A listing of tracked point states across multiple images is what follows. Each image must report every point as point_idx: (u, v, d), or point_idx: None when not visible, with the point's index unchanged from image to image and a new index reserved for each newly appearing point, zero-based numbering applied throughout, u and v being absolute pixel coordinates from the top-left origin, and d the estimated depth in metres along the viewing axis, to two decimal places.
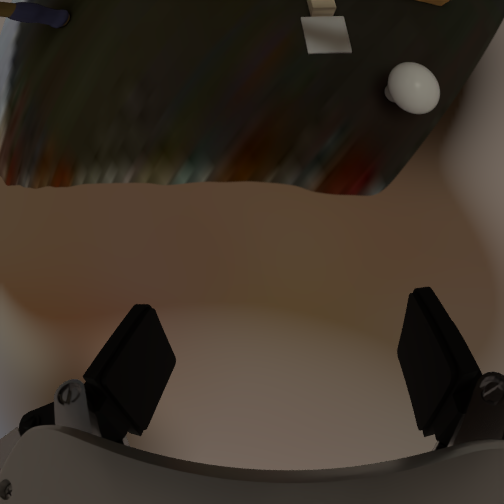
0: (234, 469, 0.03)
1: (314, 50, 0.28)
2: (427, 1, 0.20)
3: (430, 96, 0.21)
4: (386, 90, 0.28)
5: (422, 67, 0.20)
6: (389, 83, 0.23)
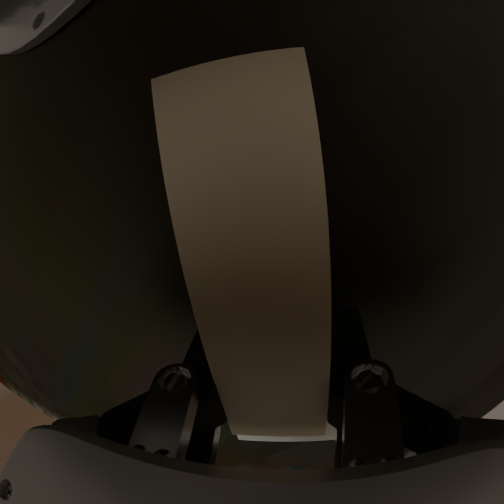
0: (234, 469, 0.03)
1: (252, 437, 0.13)
2: None
3: None
4: None
5: None
6: None
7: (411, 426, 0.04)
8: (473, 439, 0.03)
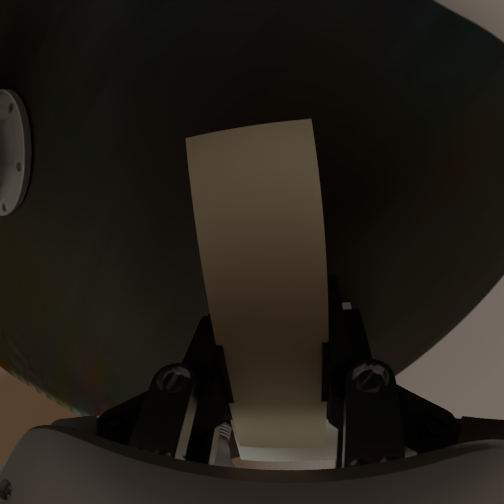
0: (234, 469, 0.03)
1: (254, 457, 0.13)
2: None
3: None
4: None
5: None
6: None
7: (412, 426, 0.04)
8: (474, 439, 0.03)
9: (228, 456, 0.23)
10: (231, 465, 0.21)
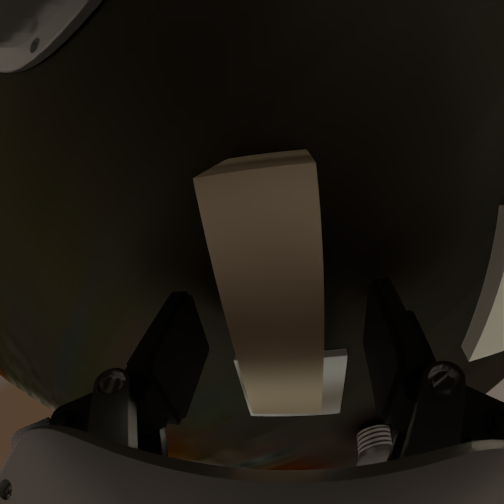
0: (234, 469, 0.03)
1: None
2: None
3: None
4: (358, 442, 0.16)
5: None
6: None
7: (481, 421, 0.04)
8: None
9: None
10: None
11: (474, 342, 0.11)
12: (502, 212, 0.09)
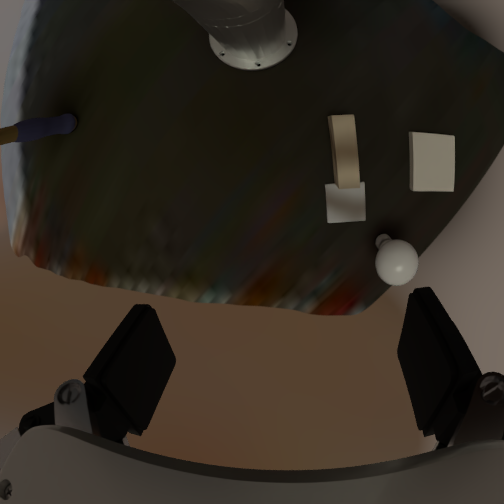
0: (234, 469, 0.03)
1: (333, 220, 0.41)
2: None
3: (406, 280, 0.32)
4: (377, 243, 0.40)
5: (406, 254, 0.32)
6: (376, 262, 0.35)
7: None
8: None
9: None
10: None
11: (412, 182, 0.36)
12: (409, 133, 0.33)
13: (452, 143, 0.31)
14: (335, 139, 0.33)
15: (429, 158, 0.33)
